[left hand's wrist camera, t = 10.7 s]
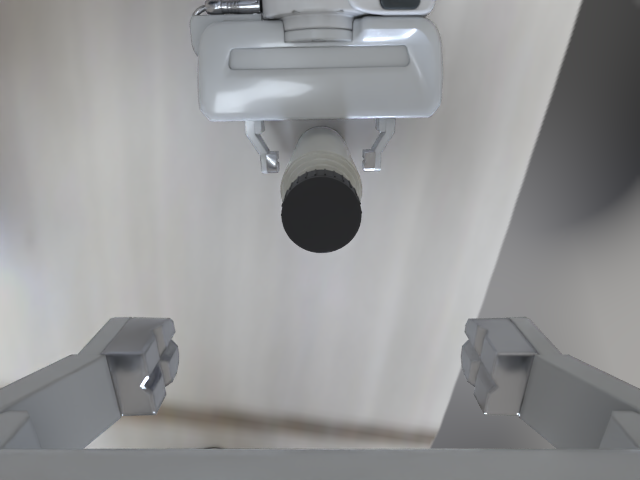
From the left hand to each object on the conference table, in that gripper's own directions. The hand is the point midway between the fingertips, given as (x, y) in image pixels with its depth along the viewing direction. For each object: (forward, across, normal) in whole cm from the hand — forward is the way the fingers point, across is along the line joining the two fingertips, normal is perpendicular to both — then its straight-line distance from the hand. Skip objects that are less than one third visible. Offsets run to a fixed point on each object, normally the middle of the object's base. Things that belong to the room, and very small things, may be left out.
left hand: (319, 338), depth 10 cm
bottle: (+32, 0, 0) cm, 32 cm away
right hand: (+26, 0, -1) cm, 27 cm away
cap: (+11, 0, 0) cm, 11 cm away
